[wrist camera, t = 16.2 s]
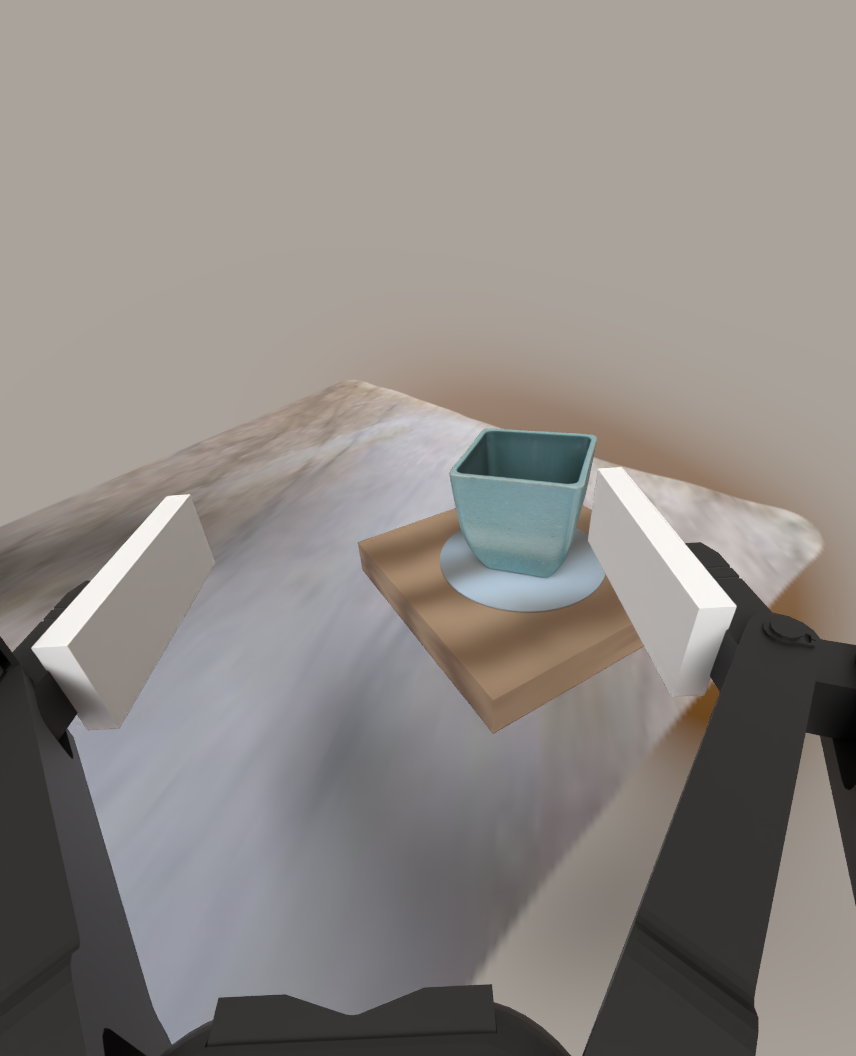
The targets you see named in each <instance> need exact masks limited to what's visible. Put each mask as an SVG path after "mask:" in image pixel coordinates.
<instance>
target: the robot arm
mask: <svg viewBox="0 0 856 1056" xmlns="http://www.w3.org/2000/svg"><path fill="white" fill-rule="evenodd" d="M588 542H589V544H590V545H591V547H592V549H593V551H594V553H595V555H596V557H597V559H598V560H599V562H600V564H601V566H602V568H603V570H604V572H605V573H606V575H607V577H608V579H609V581H610V583H611V585H612V587H613V588H614V590H615V592H616V594H617V596H618V598H619V600H620V602H621V603H622V605H623V607H624V609H625V611H626V613H627V615H628V617H629V618H630V620H631V622H632V624H633V626H634V628H635V630H636V632H637V633H638V635H639V637H640V639H641V641H642V643H643V645H644V647H645V648H646V650H647V652H648V654H649V656H650V658H651V660H652V661H653V663H654V665H655V667H656V669H657V671H658V673H659V675H660V676H661V678H662V680H663V682H664V684H665V686H666V688H667V690H668V691H669V693H670V695H671V697H682V696H699V695H704V694H705V692H706V689H707V686H708V684H709V681H710V678H712V680H713V682H714V683H715V685H716V686H717V688H718V689H719V691H720V694H719V697H718V699H717V702H716V704H715V707H714V710H713V712H712V714H711V717H710V719H709V723H708V725H707V728H706V731H705V733H704V736H703V739H702V741H701V744H700V746H699V749H698V752H697V754H696V757H695V760H694V762H693V765H692V768H691V770H690V773H689V776H688V778H687V781H686V784H685V786H684V789H683V791H682V794H681V797H680V799H679V802H678V805H677V807H676V810H675V813H674V815H673V818H672V820H671V823H670V826H669V828H668V831H667V834H666V836H665V839H664V842H663V844H662V847H661V850H660V852H659V855H658V858H657V860H656V863H655V865H654V868H653V871H652V873H651V876H650V879H649V881H648V884H647V887H646V889H645V892H644V894H643V897H642V900H641V902H640V905H639V908H638V910H637V913H636V916H635V918H634V921H633V923H632V926H631V929H630V931H629V934H628V937H627V939H626V942H625V945H624V947H623V950H622V953H621V955H620V958H619V960H618V963H617V966H616V968H615V971H614V974H613V976H612V979H611V982H610V984H609V987H608V989H607V992H606V995H605V997H604V1000H603V1002H602V1005H601V1008H600V1010H599V1013H598V1015H597V1018H596V1021H595V1024H594V1026H593V1029H592V1031H591V1034H590V1036H589V1039H588V1042H587V1044H586V1047H585V1050H584V1052H583V1055H582V1056H755V1054H756V1046H757V1039H758V1016H757V1013H756V1010H755V1008H754V996H755V990H756V984H757V978H758V974H759V969H760V963H761V958H762V953H763V948H764V943H765V938H766V933H767V928H768V922H769V917H770V912H771V907H772V902H773V897H774V891H775V887H776V881H777V876H778V871H779V866H780V861H781V856H782V851H783V845H784V841H785V835H786V830H787V825H788V820H789V815H790V810H791V805H792V800H793V794H794V789H795V784H796V779H797V774H798V768H799V763H800V758H801V753H802V748H803V743H804V738H805V733H811V734H816V735H820V738H821V743H822V747H823V752H824V757H825V762H826V765H827V771H828V776H829V780H830V785H831V790H832V795H833V799H834V804H835V809H836V813H837V819H838V823H839V828H840V832H841V837H842V842H843V847H844V852H845V857H846V861H847V866H848V871H849V876H850V880H851V885H852V890H853V895H854V899H855V904H856V645H851V644H845V643H839V642H833V641H826V640H822V639H820V638H819V637H818V635H817V634H816V633H815V632H814V630H812V629H811V628H809V627H808V626H807V625H805V624H804V623H802V622H800V621H798V620H796V619H793V618H791V617H789V616H785V615H781V614H776V613H772V612H771V611H770V609H769V608H768V607H767V606H766V605H765V604H764V603H763V602H762V601H761V600H760V598H759V597H758V596H757V595H756V594H755V593H754V592H753V591H752V590H751V588H750V587H749V586H748V585H747V584H746V583H745V582H744V581H743V580H742V579H740V578H739V575H738V574H737V573H736V572H735V571H734V570H733V569H732V568H730V565H729V564H728V563H727V562H726V561H725V560H724V559H723V557H722V556H721V555H720V554H719V553H718V552H716V551H714V550H713V549H711V548H709V547H708V546H706V545H704V544H703V543H701V542H698V543H684V542H683V541H682V540H681V538H680V537H679V536H678V535H677V533H676V532H675V531H674V530H673V529H672V527H671V526H670V525H669V524H668V523H667V521H666V520H665V519H664V518H663V517H662V515H661V514H660V513H659V512H658V510H657V509H656V508H655V507H654V506H653V504H652V503H651V502H650V501H649V500H648V498H647V497H646V496H645V495H644V494H643V492H642V491H641V490H640V489H639V487H638V486H637V485H636V484H635V483H634V481H633V480H632V479H631V478H630V477H629V475H628V474H627V473H626V472H625V471H624V469H623V468H622V467H617V468H602V469H598V470H597V477H596V485H595V492H594V499H593V506H592V514H591V521H590V528H589V535H588ZM214 564H215V561H214V558H213V555H212V553H211V550H210V547H209V544H208V542H207V539H206V536H205V533H204V530H203V528H202V525H201V522H200V519H199V517H198V514H197V511H196V508H195V506H194V503H193V500H192V497H191V495H190V494H189V495H173V496H166V498H165V499H164V500H163V501H162V502H161V503H160V504H159V505H158V507H157V508H156V509H155V510H154V511H153V512H152V513H151V514H150V515H149V517H148V518H147V519H146V520H145V521H144V522H143V523H142V524H141V526H140V527H139V528H138V529H137V530H136V531H135V532H134V533H133V534H132V536H131V537H130V538H129V539H128V540H127V541H126V542H125V543H124V545H123V546H122V547H121V548H120V549H119V550H118V551H117V552H116V554H115V555H114V556H113V557H112V558H111V559H110V560H109V561H108V562H107V564H106V565H105V566H104V567H103V568H102V569H101V570H100V571H99V573H98V574H97V575H96V576H95V577H94V578H93V579H92V580H91V581H85V582H84V583H82V584H81V585H79V586H78V587H76V588H75V589H73V590H72V591H70V592H69V593H67V594H66V595H65V596H64V597H63V598H62V600H61V601H60V602H59V603H58V604H57V605H56V606H55V607H54V610H51V611H50V613H49V614H48V615H47V616H46V617H45V618H44V622H40V623H39V624H38V625H37V627H36V628H35V629H34V630H33V631H32V632H31V633H30V634H29V635H28V636H27V637H26V638H25V639H24V641H23V642H22V643H21V644H20V645H19V646H18V647H17V648H16V649H15V650H14V651H13V652H11V650H10V649H9V648H8V646H7V645H6V644H5V642H4V641H3V639H2V638H1V637H0V1056H571V1055H570V1054H569V1053H568V1052H567V1051H566V1050H565V1049H564V1047H563V1046H562V1045H561V1044H560V1043H559V1042H558V1041H557V1040H556V1039H555V1038H554V1037H553V1036H552V1035H550V1034H549V1033H548V1032H547V1031H546V1030H545V1029H544V1028H543V1027H541V1026H540V1025H538V1024H537V1023H536V1022H534V1021H533V1020H531V1019H530V1018H528V1017H527V1016H525V1015H523V1014H521V1013H519V1012H517V1011H515V1010H513V1009H511V1008H510V1007H507V1006H503V1005H501V1004H498V1003H495V1002H493V992H492V985H491V984H490V985H469V986H449V987H428V988H423V989H420V990H418V991H415V992H413V993H410V994H408V995H405V996H403V997H400V998H398V999H396V1000H393V1001H391V1002H388V1003H386V1004H383V1005H381V1006H378V1007H376V1008H373V1009H371V1010H369V1011H366V1012H364V1013H361V1014H358V1015H346V1014H343V1013H339V1012H336V1011H333V1010H330V1009H327V1008H324V1007H321V1006H318V1005H315V1004H312V1003H309V1002H306V1001H303V1000H300V999H297V998H294V997H291V996H288V995H265V996H245V997H224V998H219V999H218V1003H217V1007H216V1011H215V1015H214V1019H213V1020H212V1021H209V1022H207V1023H206V1024H204V1025H202V1026H200V1027H199V1028H197V1029H195V1030H193V1031H191V1032H190V1033H188V1034H187V1035H185V1036H184V1037H183V1038H181V1039H180V1040H178V1041H177V1042H176V1043H174V1044H173V1045H171V1042H170V1040H169V1038H168V1035H167V1033H166V1032H165V1030H164V1028H163V1026H162V1024H161V1023H160V1021H159V1019H158V1017H157V1015H156V1013H155V1011H154V1008H153V1006H152V1003H151V1000H150V997H149V993H148V990H147V986H146V983H145V979H144V976H143V973H142V969H141V966H140V962H139V959H138V956H137V952H136V949H135V945H134V942H133V938H132V935H131V932H130V928H129V925H128V921H127V918H126V915H125V911H124V908H123V904H122V901H121V897H120V894H119V891H118V887H117V884H116V880H115V877H114V874H113V870H112V867H111V863H110V860H109V857H108V853H107V850H106V846H105V843H104V839H103V836H102V833H101V829H100V826H99V822H98V819H97V816H96V812H95V809H94V805H93V802H92V798H91V795H90V792H89V788H88V785H87V781H86V778H85V775H84V771H83V768H82V764H81V761H80V757H79V754H78V751H77V747H76V744H75V740H74V737H73V736H72V735H71V733H70V732H69V730H68V729H67V728H68V726H69V725H70V723H71V722H72V720H73V719H74V718H75V716H76V715H78V717H79V718H80V720H81V721H82V722H83V724H84V725H85V727H86V728H87V730H99V729H117V728H120V727H121V725H122V723H123V721H124V720H125V718H126V716H127V715H128V713H129V711H130V709H131V708H132V706H133V704H134V702H135V701H136V699H137V697H138V696H139V694H140V692H141V690H142V689H143V687H144V685H145V683H146V682H147V680H148V678H149V677H150V675H151V673H152V671H153V670H154V668H155V666H156V665H157V663H158V661H159V659H160V658H161V656H162V654H163V652H164V651H165V649H166V647H167V646H168V644H169V642H170V640H171V639H172V637H173V635H174V633H175V632H176V630H177V628H178V627H179V625H180V623H181V621H182V620H183V618H184V616H185V614H186V613H187V611H188V609H189V608H190V606H191V604H192V602H193V601H194V599H195V597H196V595H197V594H198V592H199V590H200V589H201V587H202V585H203V583H204V582H205V580H206V578H207V577H208V575H209V573H210V571H211V570H212V568H213V566H214Z"/></svg>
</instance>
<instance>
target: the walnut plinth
mask: <svg viewBox="0 0 856 1056" xmlns="http://www.w3.org/2000/svg"><path fill="white" fill-rule="evenodd" d="M591 514H592V510H591V509H589V508H587V507H585V506H583V505H582V509H581V512H580V516H579V519H578V523H577V527H576V530H575V534H574V538H573V542H572V545H571V548H570V550H569V553H568V555H567V557H566V559H565V560H564V562H563V563H562V565H561V566H560V567H559V568H558V570H557V571H556V572H555V573H554V574H553V575H551V576H550V577H539V576H534V575H528V574H522V573H516V572H510V571H503V570H497V569H491V568H488V567H486V566H485V565H484V564H483V563H482V562H481V561H480V560H479V559H478V558H477V557H476V556H475V554H474V553H473V552H472V550H471V549H470V548H469V546H468V544H467V542H466V541H465V538H464V536H463V534H462V531H461V528H460V524H459V520H458V515H457V511H456V508H455V509H452V510H449V511H446V512H443V513H441V514H438V515H435V516H432V517H429V518H426V519H423V520H421V521H418V522H415V523H412V524H409V525H406V526H403V527H401V528H398V529H395V530H392V531H389V532H386V533H383V534H381V535H378V536H375V537H372V538H369V539H366V540H363V541H361V542H358V546H359V552H360V557H361V563H362V569H363V571H364V572H365V573H366V575H367V576H368V577H369V578H370V580H371V581H372V582H373V583H374V585H375V586H376V587H377V588H378V590H379V591H380V592H381V593H382V595H383V596H384V597H385V599H386V600H387V601H388V602H389V604H390V605H391V606H392V607H393V609H394V610H395V611H396V612H397V614H398V615H399V616H400V617H401V619H402V620H403V621H404V622H405V624H406V625H407V626H408V627H409V629H410V630H411V631H412V632H413V634H414V635H415V636H416V637H417V639H418V640H419V641H420V642H421V644H422V645H423V646H424V647H425V649H426V650H427V651H428V652H429V654H430V655H431V656H432V657H433V659H434V660H435V661H436V662H437V664H438V665H439V666H440V667H441V669H442V670H443V671H444V672H445V674H446V675H447V676H448V677H449V679H450V680H451V681H452V682H453V684H454V685H455V686H456V687H457V689H458V690H459V691H460V693H461V694H462V695H463V696H464V698H465V699H466V700H467V701H468V703H469V704H470V705H471V706H472V708H473V709H474V710H475V711H476V713H477V714H478V715H479V716H480V718H481V719H482V720H483V721H484V723H485V724H486V725H487V726H488V728H489V729H490V730H491V731H492V733H495V732H497V731H498V730H500V729H502V728H503V727H505V726H507V725H509V724H510V723H512V722H514V721H515V720H517V719H519V718H521V717H522V716H524V715H526V714H527V713H529V712H531V711H533V710H534V709H536V708H538V707H540V706H541V705H543V704H545V703H546V702H548V701H550V700H552V699H553V698H555V697H557V696H558V695H560V694H562V693H564V692H565V691H567V690H569V689H570V688H572V687H574V686H576V685H577V684H579V683H581V682H582V681H584V680H586V679H588V678H589V677H591V676H593V675H595V674H596V673H598V672H600V671H601V670H603V669H605V668H607V667H608V666H610V665H612V664H613V663H615V662H617V661H619V660H620V659H622V658H624V657H625V656H627V655H629V654H631V653H632V652H634V651H636V650H637V649H639V648H641V647H643V646H644V645H643V643H642V641H641V639H640V637H639V635H638V633H637V632H636V630H635V628H634V626H633V624H632V622H631V620H630V618H629V617H628V615H627V613H626V611H625V609H624V607H623V605H622V603H621V602H620V600H619V598H618V596H617V594H616V592H615V590H614V588H613V587H612V585H611V583H610V581H609V579H608V577H607V575H606V573H605V572H604V570H603V568H602V566H601V564H600V562H599V560H598V559H597V557H596V555H595V553H594V551H593V549H592V547H591V545H590V544H589V542H588V535H589V528H590V521H591Z"/></svg>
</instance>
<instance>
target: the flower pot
mask: <svg viewBox="0 0 856 1056" xmlns="http://www.w3.org/2000/svg"><path fill="white" fill-rule="evenodd" d="M596 442H597V438H596V436H595V435H588V434H577V433H556V432H540V431H520V430H506V429H484V430H483V431H482V432H481V433H480V434H479V435H478V437H477V438H476V439H475V441H474V442H473V443H472V445H471V446H470V447H469V448H468V450H467V451H466V452H465V454H464V455H463V456H462V457H461V458H460V460H459V461H458V462H457V463H456V464H455V465H454V467H453V468H452V469H451V471H450V473H449V475H450V480H451V485H452V490H453V496H454V501H455V506H456V511H457V515H458V520H459V524H460V528H461V531H462V534H463V536H464V538H465V541H466V542H467V544H468V546H469V548H470V549H471V550H472V552H473V553H474V554H475V556H476V557H477V558H478V559H479V560H480V561H481V562H482V563H483V564H484V565H485V566H486V567H488V568H491V569H497V570H503V571H510V572H516V573H522V574H528V575H534V576H539V577H550V576H551V575H553V574H554V573H555V572H556V571H557V570H558V568H559V567H560V566H561V565H562V563H563V562H564V560H565V559H566V557H567V555H568V553H569V550H570V548H571V545H572V542H573V538H574V534H575V530H576V527H577V523H578V519H579V516H580V512H581V509H582V505H583V501H584V498H585V494H586V490H587V486H588V481H589V476H590V471H591V466H592V462H593V457H594V452H595V447H596Z"/></svg>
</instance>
